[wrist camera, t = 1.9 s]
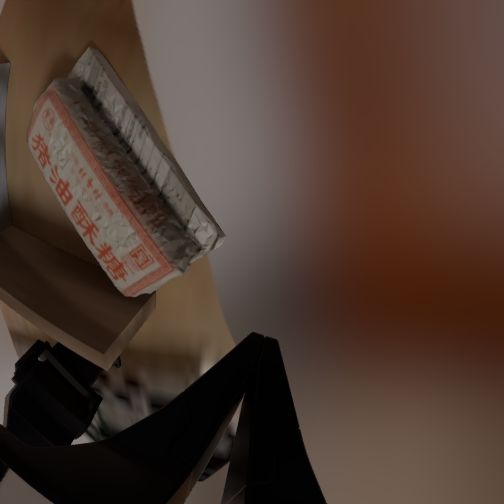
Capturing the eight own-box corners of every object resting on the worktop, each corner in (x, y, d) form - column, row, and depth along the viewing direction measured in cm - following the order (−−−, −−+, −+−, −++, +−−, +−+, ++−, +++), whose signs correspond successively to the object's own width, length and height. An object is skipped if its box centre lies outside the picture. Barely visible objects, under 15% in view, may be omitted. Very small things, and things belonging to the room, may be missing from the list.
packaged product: (208, 270, 17) (116, 318, 21) (233, 235, 21) (146, 285, 25) (56, 42, 12) (2, 139, 16) (102, 46, 16) (42, 128, 21)
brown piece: (155, 308, 26) (93, 389, 17) (6, 235, 28) (-50, 273, 19) (186, 49, 15) (70, 23, 7) (2, 64, 18) (-73, 79, 9)
